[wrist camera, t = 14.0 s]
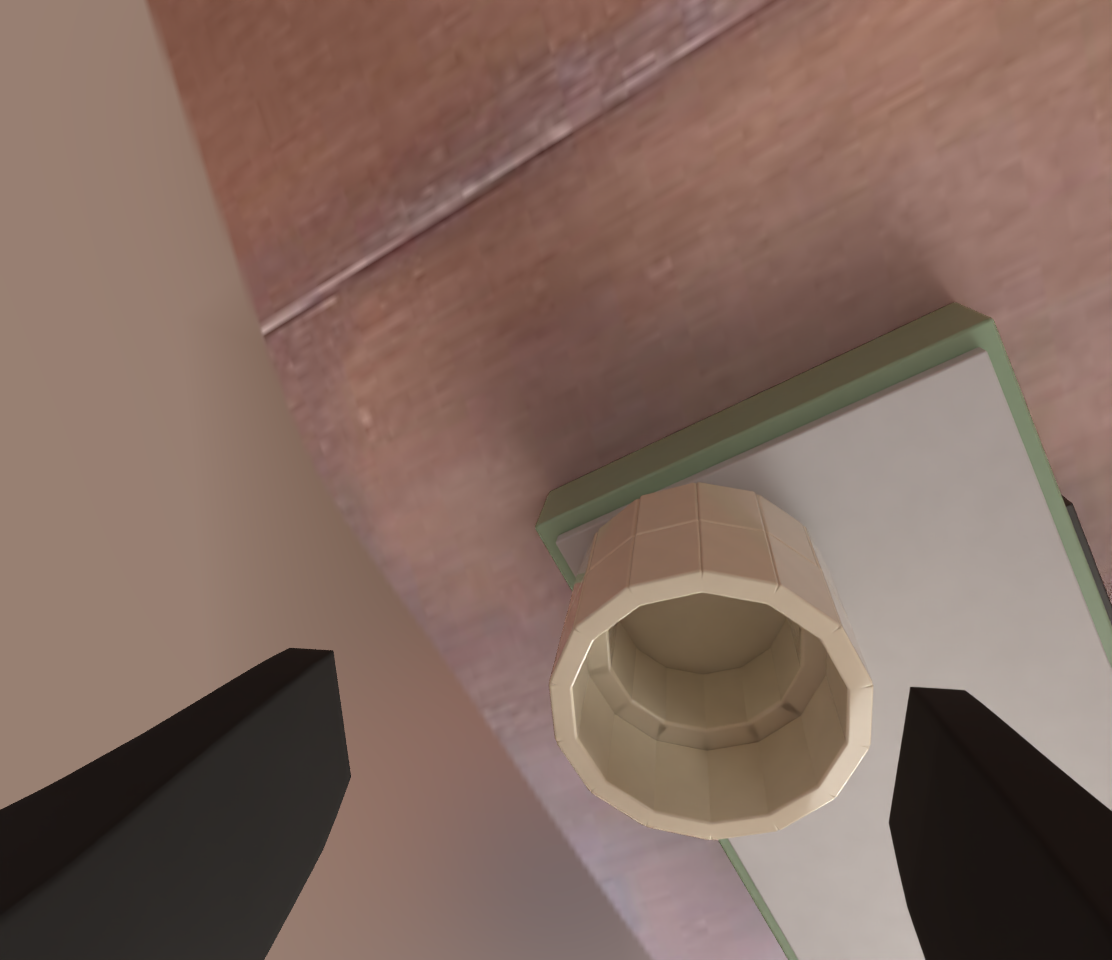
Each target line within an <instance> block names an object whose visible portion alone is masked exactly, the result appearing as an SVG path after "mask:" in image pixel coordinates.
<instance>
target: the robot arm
mask: <svg viewBox="0 0 1112 960" xmlns="http://www.w3.org/2000/svg"><path fill="white" fill-rule="evenodd" d="M350 778H351V773H350V766H349V760H348V752H347V745H346V738H345V732H344V724H343V716H342V710H341V702H340V695H339V688H338V681H337V674H336V667H335V660H334V652H333V651H331V650H330V651H329V650H316V649H315V650H314V649H299V648H289V649H287V650H285V651H283V652H281V653H279V654H277V655H275V656H273V657H271V658H269V659H267V660H265V661H264V662H262V663H260V664H258V665H257V666H255V667H253V668H252V669H250V670H248V671H247V672H245V673H243V674H241V675H240V676H238V677H236V678H235V679H233V680H231V681H230V682H228V683H226V684H225V685H223V686H221V687H220V688H218V689H216V690H215V691H213V692H212V693H210V694H208V695H207V696H205V697H203V698H202V699H200V700H198V701H197V702H195V703H193V704H192V705H190V706H188V707H187V708H185V709H183V710H182V711H180V712H178V713H177V714H175V715H173V716H171V717H170V718H168V719H166V720H165V721H163V722H161V723H160V724H158V725H156V726H155V727H153V728H151V729H150V730H148V731H146V732H145V733H143V734H141V735H140V736H138V737H136V738H134V739H132V740H130V741H129V742H127V743H125V744H123V745H121V746H120V747H118V748H116V749H114V750H113V751H111V752H109V753H107V754H105V755H103V756H102V757H100V758H98V759H96V760H94V761H93V762H91V763H89V764H87V765H85V766H84V767H82V768H80V769H78V770H76V771H75V772H73V773H71V774H69V775H67V776H66V777H64V778H62V779H60V780H58V781H56V782H54V783H53V784H51V785H49V786H47V787H45V788H43V789H41V790H39V791H37V792H35V793H33V794H31V795H29V796H27V797H25V798H23V799H21V800H19V801H17V802H15V803H13V804H11V805H9V806H7V807H5V808H3V809H1V810H0V960H264V959H265V957H266V955H267V954H268V952H269V950H270V948H271V946H272V944H273V943H274V941H275V939H276V937H277V935H278V933H279V932H280V930H281V928H282V926H283V924H284V922H285V920H286V919H287V917H288V915H289V913H290V911H291V909H292V908H293V906H294V904H295V902H296V900H297V898H298V896H299V894H300V892H301V891H302V889H303V887H304V885H305V883H306V881H307V879H308V877H309V876H310V874H311V872H312V870H313V868H314V866H315V864H316V862H317V860H318V858H319V856H320V854H321V853H322V851H323V848H324V846H325V843H326V841H327V838H328V836H329V834H330V831H331V828H332V826H333V824H334V821H335V819H336V816H337V813H338V811H339V808H340V805H341V802H342V800H343V797H344V794H345V792H346V789H347V786H348V783H349V781H350ZM889 827H890V832H891V837H892V841H893V846H894V851H895V856H896V860H897V865H898V870H899V874H900V878H901V883H902V887H903V891H904V895H905V900H906V904H907V908H908V911H909V914H910V917H911V920H912V923H913V926H914V929H915V932H916V935H917V937H918V940H919V943H920V946H921V949H922V952H923V955H924V958H925V960H1112V811H1111V810H1110V809H1109V808H1108V807H1106V806H1105V805H1104V804H1103V803H1101V802H1100V801H1099V800H1098V799H1096V798H1095V797H1094V796H1093V795H1091V794H1090V793H1089V792H1088V791H1087V790H1085V789H1084V788H1083V787H1082V786H1080V785H1079V784H1078V783H1077V782H1076V781H1074V780H1073V779H1072V778H1071V777H1070V776H1068V775H1067V774H1066V773H1065V772H1064V771H1062V770H1061V769H1060V768H1059V767H1058V766H1056V765H1055V764H1054V763H1053V762H1052V761H1050V760H1049V759H1048V758H1047V757H1046V756H1044V755H1043V754H1042V753H1041V752H1040V751H1039V750H1037V749H1036V748H1035V747H1034V746H1033V745H1031V744H1030V743H1029V742H1028V741H1027V740H1026V739H1024V738H1023V737H1022V736H1021V735H1020V734H1018V733H1017V732H1016V731H1015V730H1014V729H1013V728H1011V727H1010V726H1009V725H1008V724H1007V723H1005V722H1004V721H1003V720H1002V719H1001V718H999V717H998V716H997V715H996V714H995V713H993V712H992V711H991V710H990V709H989V708H987V707H986V706H985V705H984V704H982V703H981V702H980V701H979V700H977V699H976V698H975V697H974V696H972V695H971V694H970V693H968V692H967V691H966V690H958V689H942V688H926V687H910V691H909V697H908V704H907V710H906V716H905V722H904V729H903V735H902V741H901V748H900V754H899V760H898V766H897V773H896V779H895V785H894V792H893V798H892V804H891V810H890V817H889Z"/></svg>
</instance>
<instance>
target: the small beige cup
mask: <svg viewBox="0 0 1112 960" xmlns="http://www.w3.org/2000/svg"><path fill="white" fill-rule="evenodd" d="M549 691H550V700H551V708H552V717H553V726H554V734H555V740H556V742H557V744H558V746H559V747H560V749H561V750H562V752H563V753H564V755H565V756H566V757H567V759H568V760H569V762H570V763H571V765H572V766H573V768H574V769H575V771H576V772H577V774H578V775H579V776H580V778H581V779H582V781H583V782H584V784H585V785H586V787H587V788H588V790H589V791H591V792H592V794H594V795H596V796H597V797H599V798H600V799H602V800H604V801H605V802H607V803H608V804H610V805H611V806H613V807H615V808H616V809H618V810H619V811H621V812H623V813H624V814H626V815H627V816H629V817H630V818H632V819H634V820H635V821H637V822H638V823H640V824H642V825H644V826H645V825H646V827H649V828H654V829H658V830H663V831H668V832H673V833H678V834H682V835H687V836H692V837H697V838H701V839H706V840H711V839H712V840H719V839H726V838H734V837H741V836H748V835H755V834H762V833H769V832H776V831H778V830H782V829H783V828H785V827H787V826H789V825H790V824H792V823H794V822H796V821H797V820H799V819H801V818H803V817H804V816H806V815H808V814H810V813H811V812H813V811H815V810H817V809H818V808H820V807H822V806H824V805H825V804H827V803H829V802H831V801H832V800H834V799H835V797H837V796H838V794H839V793H840V792H841V790H842V789H843V787H844V786H845V784H846V783H847V781H848V780H849V778H850V777H851V775H852V774H853V772H854V771H855V769H856V768H857V766H858V765H859V763H860V762H861V760H862V759H863V757H864V756H865V754H866V753H867V751H868V750H869V747H870V745H871V733H872V712H873V692H874V686H873V681H872V678H871V676H870V673H869V671H868V668H867V665H866V663H865V660H864V658H863V655H862V653H861V650H860V647H859V645H858V642H857V640H856V637H855V635H854V632H853V629H852V627H851V624H850V622H849V620H848V617H847V614H846V611H845V609H844V606H843V604H842V601H841V599H840V596H839V593H838V591H837V588H836V586H835V583H834V581H833V578H832V575H831V573H830V570H829V569H828V567H827V565H826V563H825V561H824V559H823V557H822V556H821V554H820V552H819V550H818V548H817V546H816V545H815V543H814V541H813V539H812V537H811V535H810V533H809V532H808V530H807V528H806V527H805V526H803V525H802V523H800V522H799V521H798V520H796V519H795V518H793V517H792V516H790V515H789V514H787V513H786V512H784V511H783V510H781V509H780V508H778V507H777V506H776V505H774V504H773V503H771V502H770V501H768V500H767V499H765V498H764V497H762V496H761V495H758V494H756V493H755V492H753V491H747V490H742V489H736V488H730V487H724V486H718V485H712V484H707V483H701V482H698V483H697V484H696V483H690V484H686V485H682V486H678V487H674V488H670V489H666V490H662V491H658V492H654V493H650V494H646V495H642V496H641V497H640V499H636V500H634V501H633V502H632V503H631V504H629V505H628V506H627V507H626V508H624V509H623V510H622V511H621V512H619V513H618V514H617V515H616V516H615V517H613V518H612V519H611V520H610V521H608V522H607V523H606V524H605V525H603V526H602V527H601V528H600V529H599V530H598V532H596V533H595V534H594V536H593V539H592V541H591V543H590V546H589V548H588V550H587V553H586V555H585V557H584V560H583V562H582V564H581V567H580V569H579V571H578V573H577V576H576V580H575V584H574V588H573V592H572V595H571V599H570V603H569V607H568V611H567V615H566V619H565V622H564V626H563V630H562V634H561V637H560V641H559V645H558V649H557V653H556V657H555V661H554V665H553V668H552V672H551V676H550V682H549Z"/></svg>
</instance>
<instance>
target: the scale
mask: <svg viewBox="0 0 1112 960" xmlns="http://www.w3.org/2000/svg"><path fill="white" fill-rule="evenodd" d="M698 482H701V483H707V484H712V485H718V486H724V487H730V488H736V489H742V490H747V491H753V492H755V493H756V494H758V495H761V496H762V497H764V498H765V499H767V500H768V501H770V502H771V503H773V504H774V505H776V506H777V507H778V508H780V509H781V510H783V511H784V512H786V513H787V514H789V515H790V516H792V517H793V518H795V519H796V520H798V521H799V522H800V523H802V525H803V526H805V527H806V528H807V530H808V532H809V533H810V535H811V537H812V539H813V541H814V543H815V545H816V546H817V548H818V550H819V552H820V554H821V556H822V557H823V559H824V561H825V563H826V565H827V567H828V569H829V570H830V573H831V575H832V578H833V581H834V583H835V586H836V588H837V591H838V593H839V596H840V599H841V601H842V604H843V606H844V609H845V611H846V614H847V617H848V620H849V622H850V624H851V627H852V629H853V632H854V635H855V637H856V640H857V642H858V645H859V647H860V650H861V653H862V655H863V658H864V660H865V663H866V665H867V668H868V671H869V673H870V676H871V678H872V681H873V686H874V692H873V712H872V733H871V745H870V747H869V750H868V751H867V753H866V754H865V756H864V757H863V759H862V760H861V762H860V763H859V765H858V766H857V768H856V769H855V771H854V772H853V774H852V775H851V777H850V778H849V780H848V781H847V783H846V784H845V786H844V787H843V789H842V790H841V792H840V793H839V794H838V796H837V797H835V799H834V800H832V801H831V802H829V803H827V804H825V805H824V806H822V807H820V808H818V809H817V810H815V811H813V812H811V813H810V814H808V815H806V816H804V817H803V818H801V819H799V820H797V821H796V822H794V823H792V824H790V825H789V826H787V827H785V828H783V829H782V830H778V831H776V832H769V833H762V834H755V835H748V836H741V837H734V838H726V839H719V840H718V841H719V842H720V844H721V846H722V848H723V849H724V851H725V853H726V854H727V856H728V858H729V860H730V861H731V863H732V865H733V866H734V868H735V870H736V871H737V873H738V875H739V877H740V878H741V880H742V882H743V883H744V885H745V887H746V888H747V890H748V892H749V894H750V895H751V897H752V899H753V900H754V902H755V904H756V906H757V907H758V909H759V911H760V912H761V914H762V916H763V917H764V919H765V921H766V923H767V924H768V926H769V928H770V929H771V931H772V933H773V934H774V936H775V938H776V940H777V941H778V943H779V945H780V946H781V948H782V950H783V952H784V953H785V955H786V957H787V958H788V960H925V958H924V955H923V952H922V949H921V946H920V943H919V940H918V937H917V935H916V932H915V929H914V926H913V923H912V920H911V917H910V914H909V911H908V908H907V904H906V900H905V895H904V891H903V887H902V883H901V878H900V874H899V870H898V865H897V860H896V856H895V851H894V846H893V841H892V837H891V832H890V827H889V817H890V810H891V804H892V798H893V792H894V785H895V779H896V773H897V766H898V760H899V754H900V748H901V741H902V735H903V729H904V722H905V716H906V710H907V704H908V697H909V691H910V687H926V688H942V689H958V690H966V691H967V692H968V693H970V694H971V695H972V696H974V697H975V698H976V699H977V700H979V701H980V702H981V703H982V704H984V705H985V706H986V707H987V708H989V709H990V710H991V711H992V712H993V713H995V714H996V715H997V716H998V717H999V718H1001V719H1002V720H1003V721H1004V722H1005V723H1007V724H1008V725H1009V726H1010V727H1011V728H1013V729H1014V730H1015V731H1016V732H1017V733H1018V734H1020V735H1021V736H1022V737H1023V738H1024V739H1026V740H1027V741H1028V742H1029V743H1030V744H1031V745H1033V746H1034V747H1035V748H1036V749H1037V750H1039V751H1040V752H1041V753H1042V754H1043V755H1044V756H1046V757H1047V758H1048V759H1049V760H1050V761H1052V762H1053V763H1054V764H1055V765H1056V766H1058V767H1059V768H1060V769H1061V770H1062V771H1064V772H1065V773H1066V774H1067V775H1068V776H1070V777H1071V778H1072V779H1073V780H1074V781H1076V782H1077V783H1078V784H1079V785H1080V786H1082V787H1083V788H1084V789H1085V790H1087V791H1088V792H1089V793H1090V794H1091V795H1093V796H1094V797H1095V798H1096V799H1098V800H1099V801H1100V802H1101V803H1103V804H1104V805H1105V806H1106V807H1108V808H1109V809H1110V810H1111V811H1112V605H1111V603H1110V600H1109V597H1108V595H1107V592H1106V589H1105V587H1104V584H1103V582H1102V579H1101V576H1100V574H1099V571H1098V569H1097V566H1096V563H1095V561H1094V558H1093V556H1092V553H1091V550H1090V548H1089V545H1088V543H1087V540H1086V537H1085V535H1084V532H1083V530H1082V527H1081V524H1080V522H1079V519H1078V517H1077V514H1076V511H1075V509H1074V506H1073V504H1072V503H1071V502H1070V501H1068V500H1067V499H1066V498H1065V497H1063V496H1062V495H1061V493H1060V490H1059V488H1058V485H1057V483H1056V480H1055V477H1054V475H1053V472H1052V470H1051V467H1050V465H1049V462H1048V459H1047V457H1046V454H1045V452H1044V449H1043V446H1042V444H1041V441H1040V439H1039V436H1038V433H1037V431H1036V428H1035V426H1034V423H1033V421H1032V418H1031V415H1030V413H1029V410H1028V408H1027V405H1026V402H1025V400H1024V397H1023V395H1022V392H1021V389H1020V387H1019V384H1018V382H1017V379H1016V377H1015V374H1014V371H1013V369H1012V366H1011V364H1010V361H1009V358H1008V356H1007V353H1006V351H1005V348H1004V346H1003V343H1002V340H1001V338H1000V335H999V333H998V330H997V327H996V325H995V322H994V320H993V319H992V318H991V317H988V316H986V315H984V314H981V313H979V312H977V311H974V310H972V309H970V308H968V307H965V306H963V305H961V304H958V303H951V304H949V305H947V306H945V307H943V308H940V309H938V310H936V311H934V312H932V313H930V314H928V315H925V316H923V317H921V318H919V319H917V320H915V321H913V322H911V323H908V324H906V325H904V326H902V327H900V328H898V329H896V330H894V331H891V332H889V333H887V334H885V335H883V336H881V337H879V338H876V339H874V340H872V341H870V342H868V343H866V344H864V345H862V346H859V347H857V348H855V349H853V350H851V351H849V352H847V353H844V354H842V355H840V356H838V357H836V358H834V359H832V360H830V361H827V362H825V363H823V364H821V365H819V366H817V367H815V368H812V369H810V370H808V371H806V372H804V373H802V374H800V375H798V376H795V377H793V378H791V379H789V380H787V381H785V382H783V383H781V384H778V385H776V386H774V387H772V388H770V389H768V390H766V391H763V392H761V393H759V394H757V395H755V396H753V397H751V398H749V399H746V400H744V401H742V402H740V403H738V404H736V405H734V406H731V407H729V408H727V409H725V410H723V411H721V412H719V413H717V414H714V415H712V416H710V417H708V418H706V419H704V420H702V421H699V422H697V423H695V424H693V425H691V426H689V427H687V428H685V429H682V430H680V431H678V432H676V433H674V434H672V435H670V436H668V437H665V438H663V439H661V440H659V441H657V442H655V443H653V444H650V445H648V446H646V447H644V448H642V449H640V450H638V451H636V452H633V453H631V454H629V455H627V456H625V457H623V458H621V459H618V460H616V461H614V462H612V463H610V464H608V465H606V466H604V467H601V468H599V469H597V470H595V471H593V472H591V473H589V474H586V475H584V476H582V477H580V478H578V479H576V480H574V481H572V482H569V483H567V484H565V485H563V486H561V487H559V488H557V489H555V490H552V491H550V493H549V494H548V497H547V499H546V501H545V504H544V506H543V509H542V511H541V513H540V516H539V518H538V521H537V523H536V526H535V529H536V531H537V532H538V534H539V536H540V537H541V539H542V541H543V543H544V544H545V546H546V548H547V549H548V551H549V553H550V554H551V556H552V558H553V560H554V561H555V563H556V565H557V566H558V568H559V570H560V572H561V573H562V575H563V577H564V578H565V580H566V582H567V583H568V585H569V587H570V589H571V590H572V592H573V588H574V584H575V580H576V576H577V573H578V571H579V569H580V567H581V564H582V562H583V560H584V557H585V555H586V553H587V550H588V548H589V546H590V543H591V541H592V539H593V536H594V534H595V533H596V532H598V530H599V529H600V528H601V527H602V526H603V525H605V524H606V523H607V522H608V521H610V520H611V519H612V518H613V517H615V516H616V515H617V514H618V513H619V512H621V511H622V510H623V509H624V508H626V507H627V506H628V505H629V504H631V503H632V502H633V501H634V500H636V499H640V497H641V496H642V495H646V494H650V493H654V492H658V491H662V490H666V489H670V488H674V487H678V486H682V485H686V484H690V483H696V484H697V483H698Z"/></svg>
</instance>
